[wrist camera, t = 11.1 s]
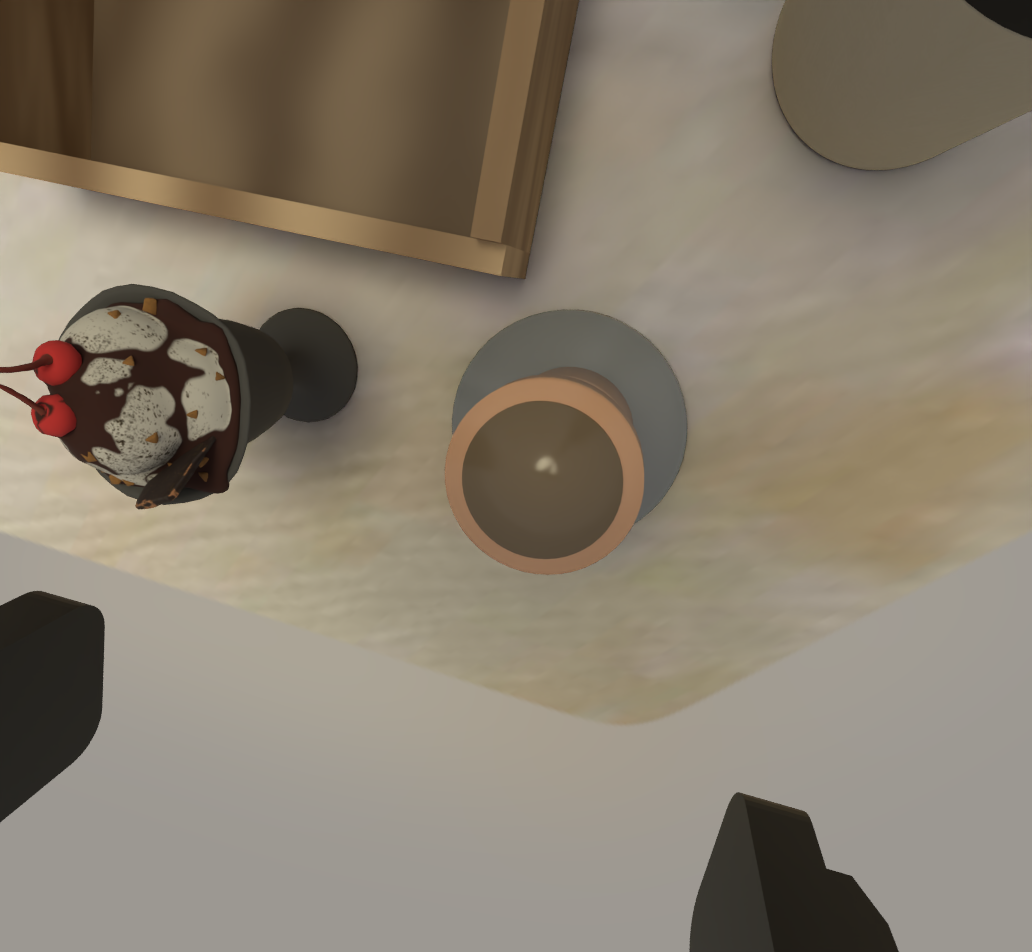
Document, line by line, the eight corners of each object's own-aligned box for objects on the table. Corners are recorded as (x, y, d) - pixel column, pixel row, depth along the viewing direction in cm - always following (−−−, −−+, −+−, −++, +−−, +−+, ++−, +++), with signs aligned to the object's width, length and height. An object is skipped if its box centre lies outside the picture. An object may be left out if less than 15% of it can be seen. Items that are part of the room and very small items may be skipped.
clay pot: (660, 374, 27) (667, 406, 19) (623, 516, 29) (616, 599, 21) (512, 342, 28) (461, 360, 20) (484, 482, 30) (427, 550, 22)
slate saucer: (713, 337, 27) (716, 338, 27) (652, 559, 30) (653, 566, 29) (478, 287, 28) (474, 287, 28) (440, 506, 31) (435, 511, 30)
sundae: (238, 274, 30) (-128, 256, 16) (385, 304, 29) (140, 313, 15) (227, 422, 32) (-108, 525, 18) (366, 453, 31) (132, 589, 17)
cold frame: (605, -134, 24) (587, -331, 17) (524, 279, 28) (481, 273, 20) (87, -205, 26) (-138, -406, 19) (79, 186, 30) (-109, 150, 23)
